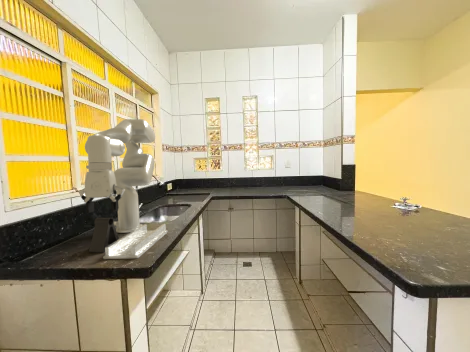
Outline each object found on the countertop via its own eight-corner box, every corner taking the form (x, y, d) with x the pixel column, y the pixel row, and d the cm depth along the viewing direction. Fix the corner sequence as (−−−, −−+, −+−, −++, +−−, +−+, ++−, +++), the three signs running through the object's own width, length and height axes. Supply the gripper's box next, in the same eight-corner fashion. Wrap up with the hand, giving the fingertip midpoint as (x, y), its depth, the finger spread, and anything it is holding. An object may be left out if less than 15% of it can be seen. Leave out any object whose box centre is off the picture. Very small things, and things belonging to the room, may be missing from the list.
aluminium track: (103, 259, 69) (102, 247, 69) (143, 232, 97) (142, 224, 97) (137, 258, 69) (137, 246, 69) (167, 232, 97) (167, 223, 97)
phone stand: (103, 253, 75) (101, 220, 74) (89, 252, 76) (87, 220, 75) (120, 243, 83) (119, 215, 83) (108, 243, 84) (106, 215, 84)
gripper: (70, 168, 75) (72, 214, 75) (116, 166, 74) (118, 213, 74) (86, 168, 82) (88, 210, 82) (128, 167, 81) (129, 209, 82)
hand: (102, 212), depth 78 cm, fingers open, 9 cm apart
